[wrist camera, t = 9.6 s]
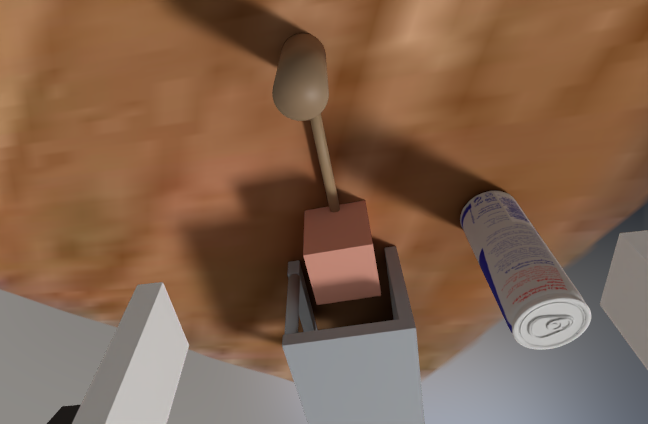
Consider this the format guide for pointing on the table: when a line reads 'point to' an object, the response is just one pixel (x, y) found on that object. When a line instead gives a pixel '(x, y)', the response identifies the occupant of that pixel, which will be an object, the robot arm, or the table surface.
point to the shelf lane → (355, 359)
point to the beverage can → (523, 273)
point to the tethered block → (325, 184)
